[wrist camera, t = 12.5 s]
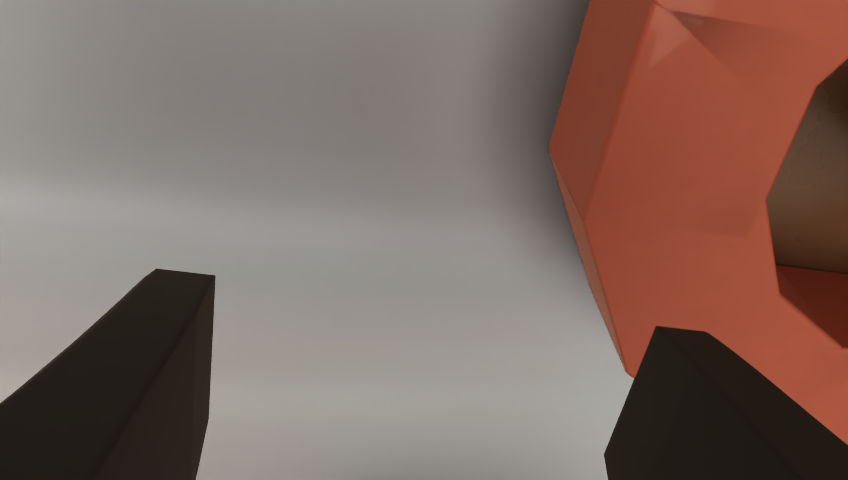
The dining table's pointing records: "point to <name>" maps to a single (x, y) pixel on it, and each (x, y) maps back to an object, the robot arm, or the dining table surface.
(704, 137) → the ring
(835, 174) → the stand
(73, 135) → the dining table surface
